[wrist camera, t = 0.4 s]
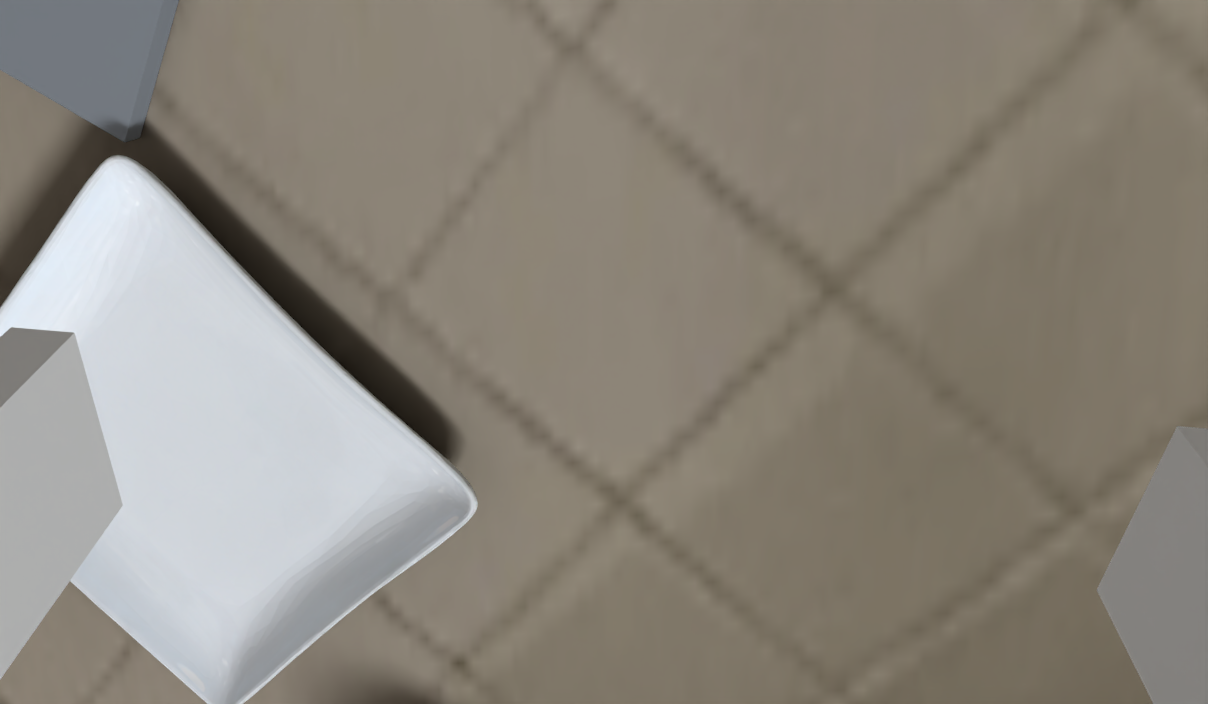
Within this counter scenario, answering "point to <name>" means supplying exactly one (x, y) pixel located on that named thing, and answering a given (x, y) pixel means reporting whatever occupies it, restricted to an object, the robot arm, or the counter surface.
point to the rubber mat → (89, 55)
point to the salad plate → (224, 444)
